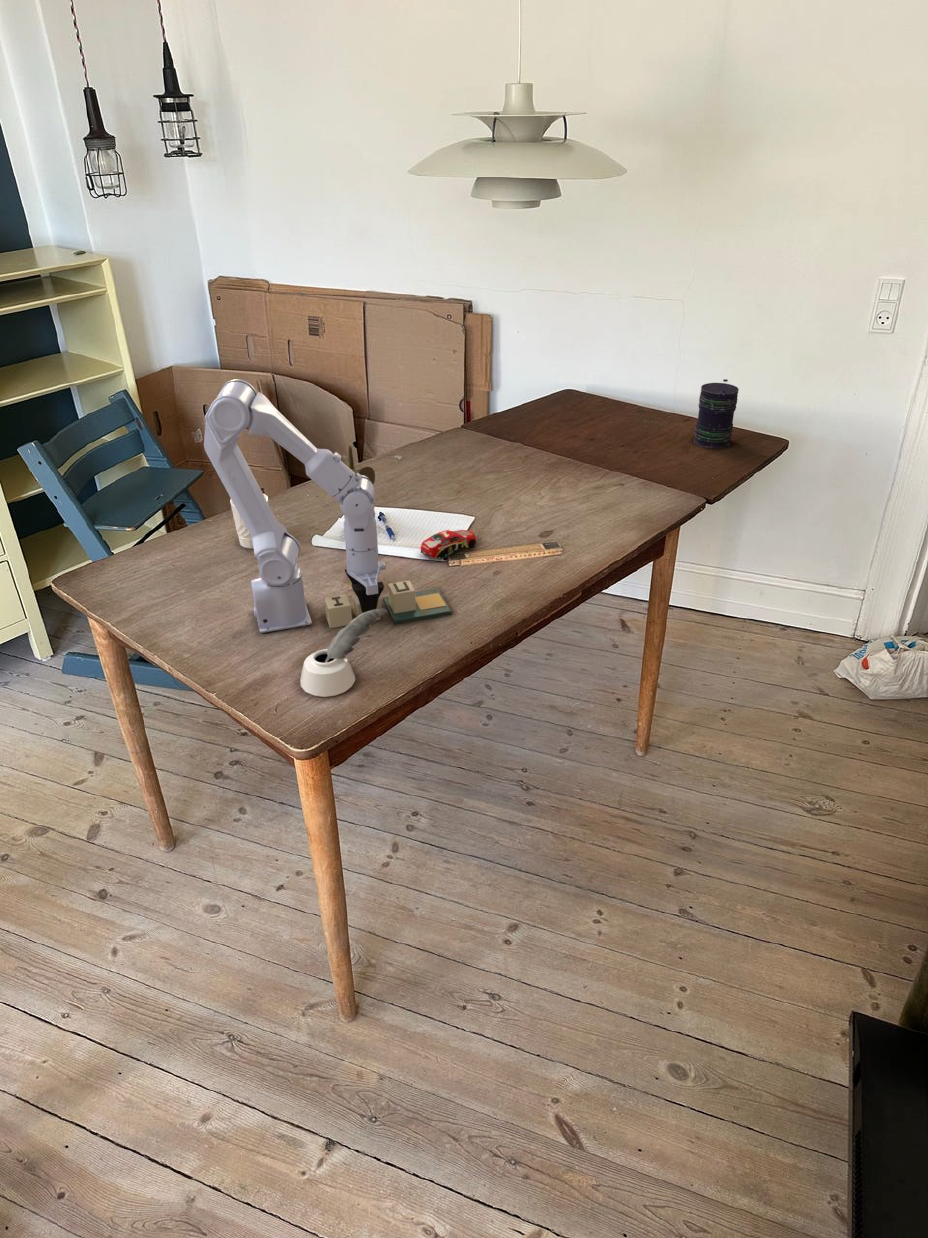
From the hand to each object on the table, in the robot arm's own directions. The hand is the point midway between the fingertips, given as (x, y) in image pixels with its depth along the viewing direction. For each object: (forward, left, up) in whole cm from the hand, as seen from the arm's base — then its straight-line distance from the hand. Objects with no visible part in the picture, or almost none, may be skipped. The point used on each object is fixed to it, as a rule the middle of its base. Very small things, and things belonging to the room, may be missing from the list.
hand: (366, 609), depth 165 cm
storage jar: (+110, +59, -2) cm, 125 cm away
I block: (-5, 0, -1) cm, 5 cm away
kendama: (+6, +36, -2) cm, 36 cm away
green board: (+10, 0, -1) cm, 10 cm away
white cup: (-16, +38, -2) cm, 41 cm away
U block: (+7, 0, -1) cm, 7 cm away
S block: (0, 0, -1) cm, 1 cm away
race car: (+23, +21, -2) cm, 31 cm away
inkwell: (-7, -16, -2) cm, 18 cm away
